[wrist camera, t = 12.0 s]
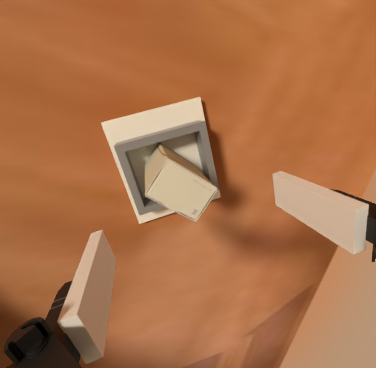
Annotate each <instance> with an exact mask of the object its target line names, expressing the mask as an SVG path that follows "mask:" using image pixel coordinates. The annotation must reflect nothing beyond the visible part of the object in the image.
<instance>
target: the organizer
mask: <svg viewBox="0 0 376 368" xmlns="http://www.w3.org/2000/svg"><path fill="white" fill-rule="evenodd" d="M101 124H102V127H103V130H104V132H105V135H106V137H107V140H108V143H109V145H110V148H111V151H112V153H113V156H114V158H115V161H116V164H117V166H118V169H119V172H120V174H121V177H122V180H123V182H124V185H125V187H126V190H127V193H128V195H129V198H130V201H131V203H132V206H133V208H134V211H135V214H136V216H137V219H138V222H139V224H141V223H144V222H147V221H150V220H153V219H156V218H159V217H162V216H165V215H168V214H171V213H174V211H172V210H170V209H168V208H166V207H164V206H163V205H161V204H159V203H157V202H155V201H153V200H151V199H149V198H148V197H146V196H145V164H146V162H147V160H148V159H149V157H150V156H151V154H152V152H153V151H154V149H155V148H156V146H157V145H158V143H159V142H160V143H162V144H163V145H165V146H166V147H168V148H170V149H171V150H173V151H174V152H176V153H178V154H179V155H181V156H182V157H184V158H185V159H187V160H188V161H190V162H191V163H193V164H194V165H195V166H196V167H197V168H198V170H199V171H200V172H201V173H202V174H203V175H204V176H205V177H206V178H207V179H208V180H209V181H210V182H211V183H212V184H213V185H214V186H216V187H217V189H218V190H217V192H216V193H215V195H214V196H213V198H212V199H211V200H214V199H217V198H220V197H221V196H220V191H219V185H218V180H217V175H216V171H215V166H214V161H213V156H212V151H211V146H210V141H209V136H208V132H207V127H206V122H205V118H204V113H203V108H202V103H201V98H200V97H198V98H194V99H190V100H186V101H182V102H179V103H175V104H171V105H167V106H163V107H159V108H155V109H152V110H148V111H144V112H140V113H136V114H132V115H129V116H125V117H121V118H117V119H113V120H109V121H106V122H102V123H101Z"/></svg>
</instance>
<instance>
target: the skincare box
mask: <svg viewBox="0 0 376 368" xmlns="http://www.w3.org/2000/svg"><path fill="white" fill-rule="evenodd" d="M217 190H218V189H217V187H216V186H214V185H213V184H212V183H211V182H210V181H209V180H208V179H207V178H206V177H205V176H204V175H203V174H202V173H201V172H200V171H199V170H198V168H197V167H196V166H195V165H194V164H193V163H191V162H190V161H188V160H187V159H185V158H184V157H182V156H181V155H179V154H178V153H176V152H174V151H173V150H171V149H170V148H168V147H166V146H165V145H163V144H162V143H160V142H159V143H158V145H157V146H156V148H155V149H154V151H153V152H152V154H151V156H150V157H149V159H148V160H147V162H146V164H145V196H146V197H148V198H149V199H151V200H153V201H155V202H157V203H159V204H161V205H163V206H164V207H166V208H168V209H170V210H172V211H174V212H176V213H178V214H180V215H182V216H184V217H186V218H189V219H191V220H193V221H195V222H196V221H197V220H198V218H199V217H200V215H201V214H202V213H203V211H204V210H205V208H206V207H207V205H208V204H209V202H210V201H211V199H212V198H213V196H214V195H215V193H216V192H217Z"/></svg>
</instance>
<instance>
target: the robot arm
mask: <svg viewBox="0 0 376 368" xmlns="http://www.w3.org/2000/svg"><path fill="white" fill-rule="evenodd" d="M273 184H274V193H275V203H276V206H278V207H280V208H281V209H283V210H284V211H286V212H287V213H289V214H290V215H292V216H294V217H295V218H297V219H298V220H300V221H301V222H303V223H304V224H306V225H308V226H309V227H311V228H312V229H314V230H315V231H317V232H318V233H320V234H322V235H323V236H325V237H326V238H328V239H329V240H331V241H332V242H334V243H336V244H337V245H339V246H340V247H342V248H343V249H345V250H347V251H348V252H350V253H351V254H353V255H354V254H357V253H359V252H361V251H364V250H365V248H366V240H367V241H369V242H371V243H373V252H372V262H375V259H376V204H374V203H372V202H369V201H366V200H364V199H361V198H358V197H355V196H353V195H350V194H349V195H348V194H347V193H345V192H342V191H339V190H333V189H327V188H324V187H322V186H319V185H317V184H314V183H311V182H309V181H306V180H304V179H301V178H298V177H296V176H293V175H290V174H288V173H285V172H283V171H280V172H277V173H274V174H273ZM116 262H117V261H116V258H115V256H114V254H113V252H112V250H111V247H110V245H109V243H108V241H107V239H106V237H105V234H104V232H103V230H100V231H97V232H94V233H91V235H90V238H89V240H88V243H87V245H86V248H85V251H84V253H83V256H82V258H81V261H80V264H79V266H78V269H77V271H76V274H75V276H74V279H73V281H70V282H67V283H65V284H64V285H63V286H62V288H61V289H60V290H59V291H58V293H57V295H56V297H55V299H54V302H53V304H52V306H51V310H50V311H49V313H48V315H47V317H46V320H44V319H43V318H41V317H39V318H34V319H31V320H29V321H27V322H26V323H24V324H23V325H21V326H20V327H19V328H18V329H16V330H15V331H14V332H13V333H12V334H11V336H10V337H9V338H8V340H7V341H6V343H5V346H4V352H5V354H6V355H7V356H8V357H9V358H10V359H11V360H12V362H13V364H12V365H10V366H8V367H7V368H82V367H81V366H80V365H79V360H80V357H81V358H82V359H83V361H84V362H85V364H88V363H90V362H93V361H95V360H98V359H100V358H103V356H104V349H105V342H106V334H107V327H108V320H109V313H110V305H111V298H112V291H113V284H114V276H115V269H116Z"/></svg>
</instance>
